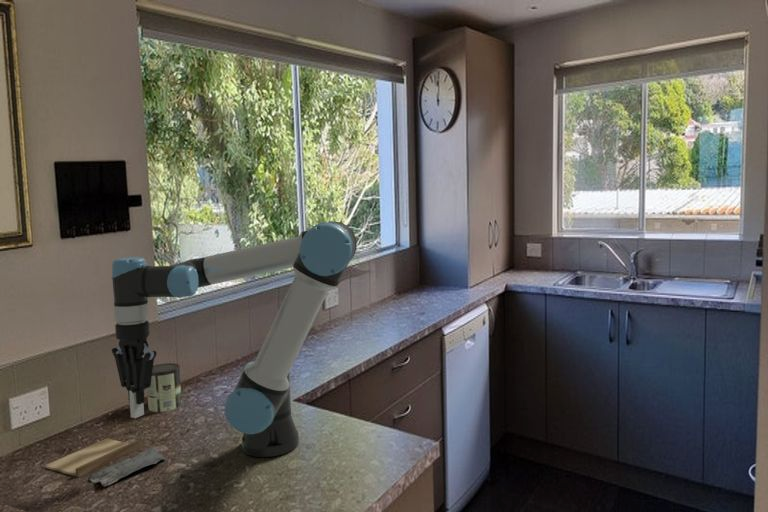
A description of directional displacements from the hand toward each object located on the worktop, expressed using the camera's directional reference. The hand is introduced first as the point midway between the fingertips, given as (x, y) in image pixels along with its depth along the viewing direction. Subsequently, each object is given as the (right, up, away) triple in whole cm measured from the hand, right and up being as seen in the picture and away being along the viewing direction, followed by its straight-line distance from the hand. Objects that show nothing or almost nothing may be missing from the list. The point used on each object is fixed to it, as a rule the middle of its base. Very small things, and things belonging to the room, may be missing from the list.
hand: (137, 415), depth 141 cm
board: (-16, -14, +9) cm, 23 cm away
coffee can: (-10, -10, +43) cm, 45 cm away
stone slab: (-7, -13, +5) cm, 16 cm away
